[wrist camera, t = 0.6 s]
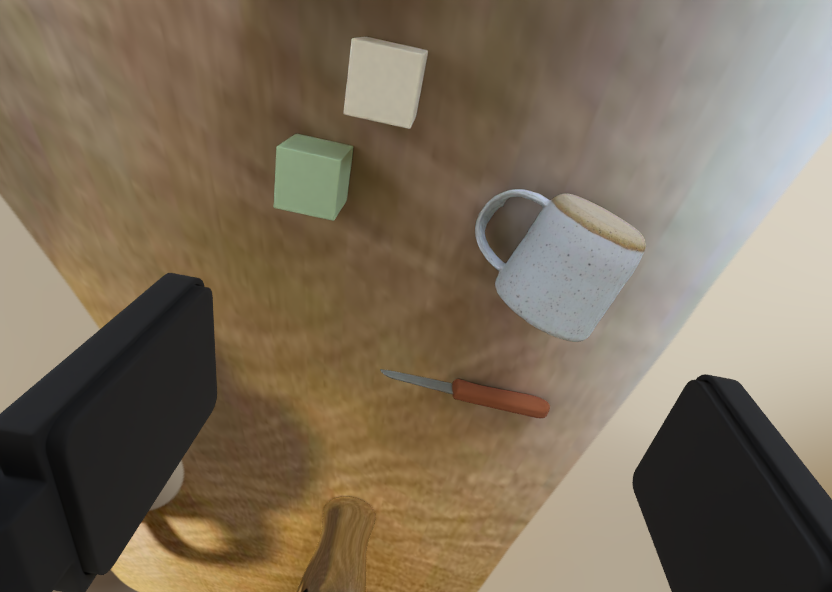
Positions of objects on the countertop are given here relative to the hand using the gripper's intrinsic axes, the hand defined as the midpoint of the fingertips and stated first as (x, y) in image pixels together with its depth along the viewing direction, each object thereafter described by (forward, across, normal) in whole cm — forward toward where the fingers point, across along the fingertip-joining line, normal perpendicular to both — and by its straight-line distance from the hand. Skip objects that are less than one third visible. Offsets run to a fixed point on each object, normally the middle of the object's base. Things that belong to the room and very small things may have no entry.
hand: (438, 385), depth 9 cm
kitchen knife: (+28, -6, +22) cm, 36 cm away
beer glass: (+28, +3, +44) cm, 52 cm away
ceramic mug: (+27, -8, +7) cm, 29 cm away
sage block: (+27, +9, +4) cm, 29 cm away
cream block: (+27, +5, -2) cm, 28 cm away
